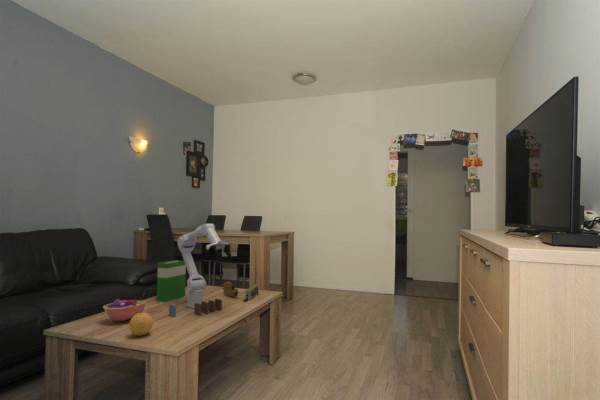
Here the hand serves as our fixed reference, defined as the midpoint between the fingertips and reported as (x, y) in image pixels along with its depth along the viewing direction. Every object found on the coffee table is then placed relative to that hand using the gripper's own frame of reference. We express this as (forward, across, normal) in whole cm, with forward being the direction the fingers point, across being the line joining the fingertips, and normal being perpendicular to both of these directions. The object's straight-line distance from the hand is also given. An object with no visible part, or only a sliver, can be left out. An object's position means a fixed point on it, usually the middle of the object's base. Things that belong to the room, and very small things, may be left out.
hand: (224, 257), depth 192 cm
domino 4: (+13, 0, +31) cm, 34 cm away
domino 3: (+13, -5, +31) cm, 34 cm away
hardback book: (-20, -2, +62) cm, 65 cm away
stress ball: (+20, -44, +24) cm, 54 cm away
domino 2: (+13, -9, +31) cm, 35 cm away
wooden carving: (-4, +28, +47) cm, 55 cm away
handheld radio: (+6, +36, +38) cm, 53 cm away
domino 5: (+12, +4, +31) cm, 34 cm away
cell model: (-1, -41, +43) cm, 59 cm away
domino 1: (+7, -20, +36) cm, 42 cm away
